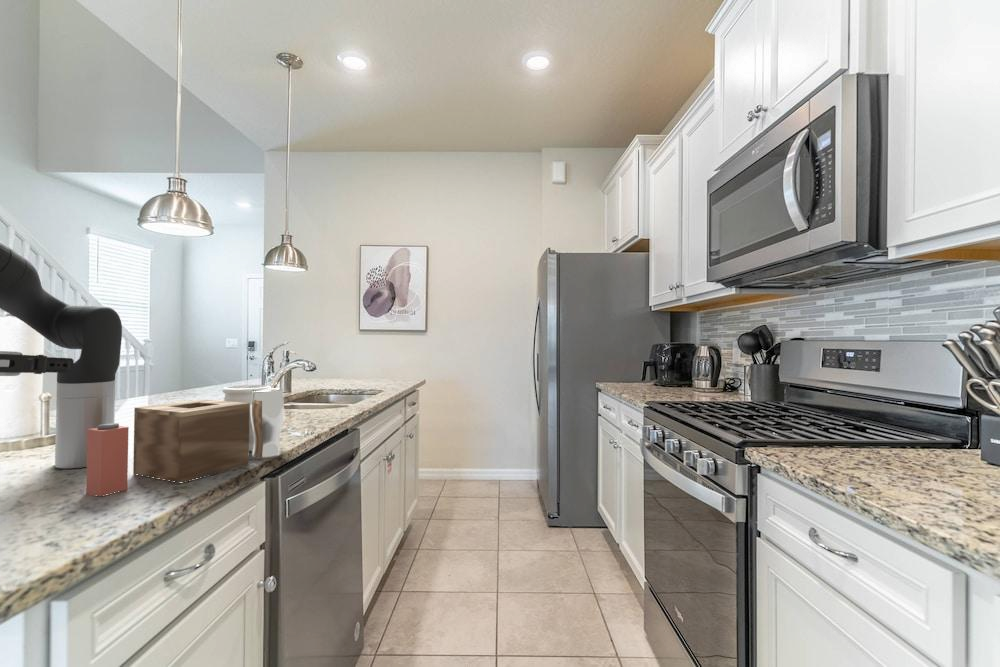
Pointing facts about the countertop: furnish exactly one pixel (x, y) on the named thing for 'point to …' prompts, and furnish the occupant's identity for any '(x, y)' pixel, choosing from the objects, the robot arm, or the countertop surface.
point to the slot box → (190, 439)
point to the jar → (242, 400)
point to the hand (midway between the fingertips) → (53, 365)
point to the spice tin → (107, 459)
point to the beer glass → (266, 422)
